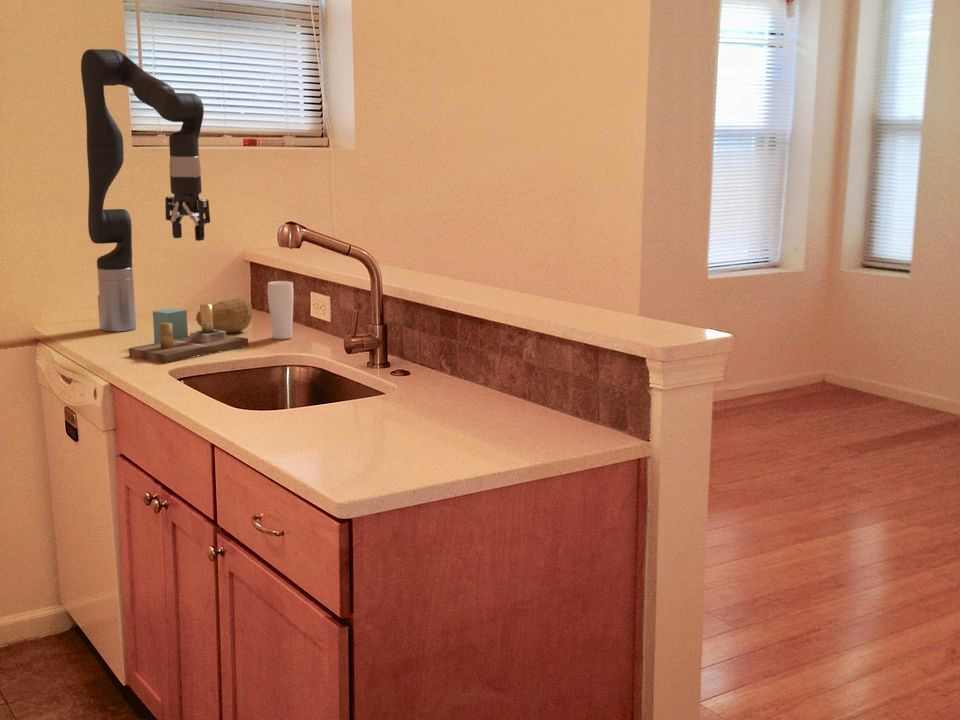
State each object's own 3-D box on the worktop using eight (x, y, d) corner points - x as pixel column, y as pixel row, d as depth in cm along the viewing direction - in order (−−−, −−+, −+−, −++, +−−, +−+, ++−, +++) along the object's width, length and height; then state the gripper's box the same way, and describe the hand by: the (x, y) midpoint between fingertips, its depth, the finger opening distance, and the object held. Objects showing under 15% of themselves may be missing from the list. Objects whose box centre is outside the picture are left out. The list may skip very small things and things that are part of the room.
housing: (154, 344, 280) (152, 311, 278) (173, 340, 285) (171, 308, 283) (169, 347, 276) (167, 313, 275) (188, 343, 281) (186, 310, 279)
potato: (193, 332, 296) (191, 299, 294) (249, 328, 303) (247, 295, 301) (200, 338, 289) (199, 303, 287) (257, 333, 296) (256, 299, 294)
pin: (199, 339, 276) (197, 305, 274) (208, 338, 278) (206, 303, 276) (207, 341, 274) (205, 306, 272) (216, 339, 276) (214, 304, 275)
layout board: (129, 356, 266) (127, 324, 264) (212, 339, 286) (210, 310, 284) (166, 363, 258) (164, 330, 256) (248, 346, 278) (247, 315, 276)
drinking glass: (298, 336, 292) (296, 281, 289) (291, 340, 285) (289, 284, 282) (273, 335, 293) (271, 280, 289) (266, 340, 286) (264, 284, 283)
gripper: (154, 174, 272) (158, 238, 275) (192, 176, 264) (195, 242, 267) (178, 173, 278) (182, 236, 281) (216, 175, 270) (218, 240, 273)
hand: (188, 239), depth 274 cm, fingers open, 8 cm apart
